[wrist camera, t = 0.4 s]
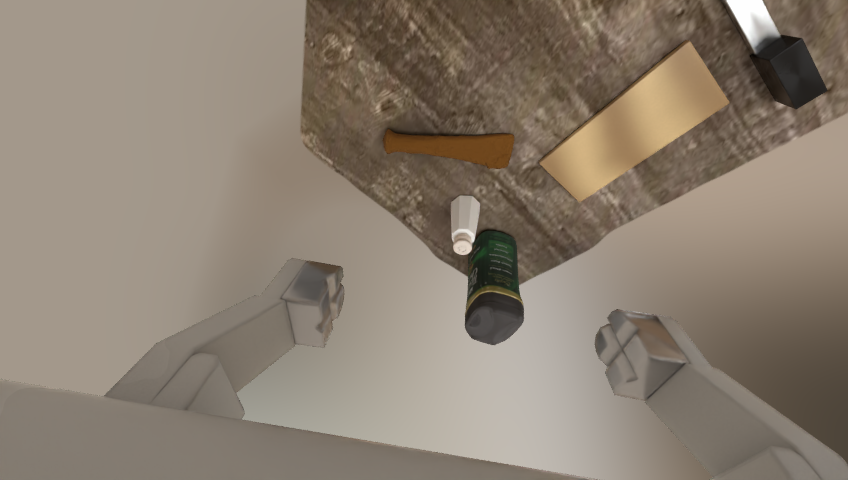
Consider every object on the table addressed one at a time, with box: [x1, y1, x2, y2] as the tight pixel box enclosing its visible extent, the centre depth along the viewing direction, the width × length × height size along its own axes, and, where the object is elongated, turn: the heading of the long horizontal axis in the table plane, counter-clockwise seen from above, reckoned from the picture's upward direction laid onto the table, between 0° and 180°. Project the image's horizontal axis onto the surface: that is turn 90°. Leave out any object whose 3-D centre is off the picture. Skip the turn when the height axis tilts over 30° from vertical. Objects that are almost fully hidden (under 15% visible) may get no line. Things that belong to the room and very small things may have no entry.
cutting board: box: [539, 40, 730, 202], centre depth 41 cm, size 20×10×1 cm, turn 142°
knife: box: [721, 0, 827, 109], centre depth 31 cm, size 18×3×3 cm, turn 52°
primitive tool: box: [383, 129, 514, 169], centre depth 45 cm, size 19×6×4 cm, turn 89°
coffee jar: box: [465, 231, 524, 345], centre depth 51 cm, size 10×8×19 cm
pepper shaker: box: [451, 195, 480, 255], centre depth 48 cm, size 5×5×11 cm
